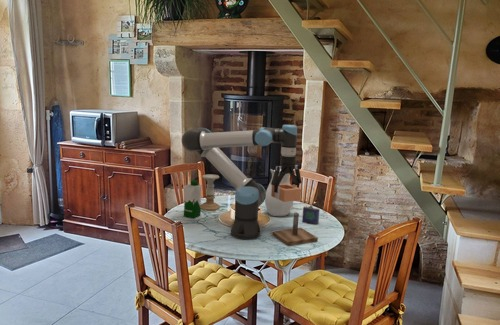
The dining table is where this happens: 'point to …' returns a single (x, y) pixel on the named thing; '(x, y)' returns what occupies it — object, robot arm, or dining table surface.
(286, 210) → the pitcher
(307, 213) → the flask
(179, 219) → the dining table surface
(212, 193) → the candle holder
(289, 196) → the orange square ring
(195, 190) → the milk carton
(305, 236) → the hook peg board
